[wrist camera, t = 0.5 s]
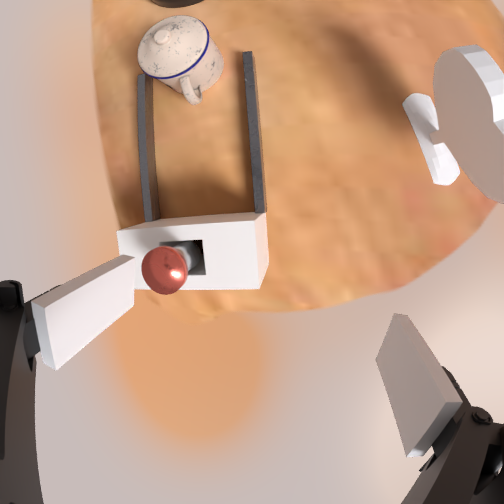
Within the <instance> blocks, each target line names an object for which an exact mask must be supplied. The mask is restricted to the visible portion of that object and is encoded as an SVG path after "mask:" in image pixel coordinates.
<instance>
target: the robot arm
mask: <svg viewBox="0 0 504 504" xmlns="http://www.w3.org/2000/svg"><path fill="white" fill-rule="evenodd" d="M152 1H153V2H154V3H155V4H157V5H159V6H162V7H168V8H177V7H185V6H189V5H193V4H196V3H199V2H201V1H204V0H152ZM134 277H135V257H132V256H128V255H124V254H123V255H121V256H119V257H117V258H115V259H113V260H110V261H108V262H106V263H104V264H102V265H100V266H98V267H96V268H94V269H92V270H90V271H88V272H86V273H84V274H82V275H80V276H78V277H76V278H74V279H72V280H70V281H68V282H66V283H64V284H62V285H58V286H56V287H54V288H53V289H50V291H47V292H45V293H44V294H41V295H39V296H37V297H35V298H33V299H32V300H30V301H28V302H26V303H24V298H23V291H22V284H21V283H20V282H18V281H14V280H5V281H1V282H0V504H44V503H43V498H42V492H41V486H40V480H39V472H38V463H37V453H36V440H35V377H36V358H35V354H37V353H38V352H39V351H40V352H41V356H42V360H43V363H44V364H46V365H48V366H49V367H51V368H53V369H55V370H58V369H59V368H60V367H61V366H62V365H63V364H64V363H66V362H67V361H68V360H69V359H70V358H72V357H73V356H74V355H75V354H76V353H77V352H79V351H80V350H81V349H82V348H83V347H84V346H86V345H87V344H88V343H89V342H90V341H92V340H93V339H94V338H95V337H96V336H97V335H99V334H100V333H101V332H102V331H103V330H105V329H106V328H107V327H108V326H110V325H111V324H112V323H113V322H114V321H115V320H117V319H118V318H119V317H120V316H122V315H123V314H124V313H125V312H127V311H128V310H129V309H130V308H131V307H133V306H134ZM376 362H377V365H378V368H379V371H380V373H381V376H382V379H383V382H384V385H385V388H386V391H387V394H388V397H389V400H390V404H391V407H392V409H393V413H394V416H395V419H396V422H397V426H398V429H399V432H400V436H401V440H402V443H403V447H404V450H405V454H406V457H416V456H423V455H424V454H425V453H426V452H427V451H428V449H429V448H430V447H431V446H432V447H433V450H434V454H433V455H432V456H431V457H430V459H429V460H428V461H427V462H426V463H425V464H424V465H423V467H422V468H421V469H420V470H419V471H420V472H421V471H422V470H423V471H422V472H421V474H420V476H419V478H418V479H417V480H416V482H415V484H414V485H413V487H412V488H411V490H410V491H409V493H408V494H407V496H406V497H405V499H404V500H403V502H402V503H401V504H504V424H499V423H493V419H492V417H491V415H490V414H489V413H488V412H487V411H485V410H484V409H482V408H479V407H473V406H471V405H470V403H469V401H468V399H467V398H466V396H465V394H464V393H463V391H462V390H461V389H460V387H459V385H458V383H456V380H455V379H454V377H453V375H452V374H451V373H450V372H449V371H448V370H447V369H446V368H444V367H443V366H441V365H440V363H439V362H438V360H437V359H436V357H435V356H434V354H433V352H432V351H431V349H430V348H429V346H428V345H427V343H426V342H425V340H424V339H423V337H422V336H421V334H420V333H419V332H418V330H417V329H416V327H415V326H414V324H413V323H412V321H411V320H410V319H409V317H408V316H407V315H402V314H396V313H394V315H393V318H392V320H391V323H390V326H389V328H388V331H387V333H386V336H385V339H384V341H383V343H382V346H381V348H380V350H379V353H378V356H377V357H376ZM500 467H502V468H501V471H500V473H499V474H498V470H499V469H500Z"/></svg>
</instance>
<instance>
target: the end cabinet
mask: <svg viewBox="0 0 504 504" xmlns="http://www.w3.org/2000/svg"><path fill="white" fill-rule="evenodd" d="M116 232H117V239H118V246H119V252H120V256H121V255H123V254H124V255H128V256H132V257H135V277H134V289H151V288H150V287H149V286H148V285H147V284H146V282H145V281H144V278H143V276H142V271H141V265H142V261H143V258H144V256H145V255H146V254H147V253H148V252H149V251H151V250H152V249H155V248H157V247H159V246H170V247H174V246H176V245H178V244H180V243H182V242H184V241H191V242H192V240H202V242H203V251H204V254H201V259H200V262H199V263H198V264H197V265H196V266H195V267H193V268H192V269H191V270H190V271H188V277H187V280H186V282H185V284H184V285H183V286H182V287H181V288H180V289H179V290H225V289H260V286H261V284H262V281H263V278H264V276H265V273H266V270H267V268H268V265H269V255H268V240H267V225H266V213H256V214H255V212H245V213H230V214H216V215H203V216H190V217H178V218H167V219H159V220H156V221H152V222H145V223H141V224H138V225H134V226H131V227H128V228H124V229H121V230H118V231H116Z"/></svg>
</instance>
